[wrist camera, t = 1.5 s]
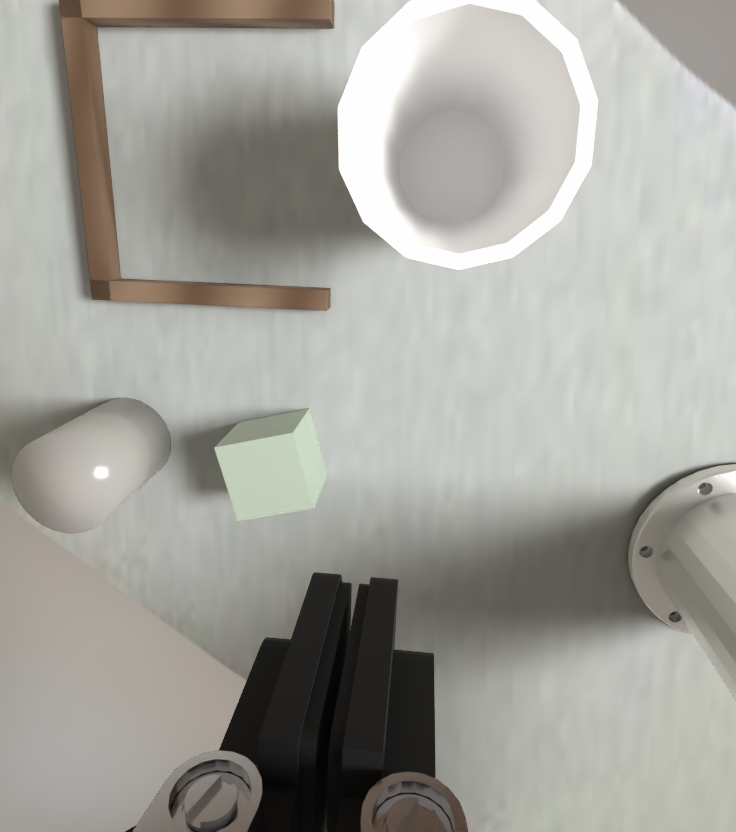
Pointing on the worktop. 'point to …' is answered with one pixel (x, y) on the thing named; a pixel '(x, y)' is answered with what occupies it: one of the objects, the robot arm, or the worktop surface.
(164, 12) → the dark wooden bay
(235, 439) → the sage painted block
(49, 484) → the grey ceramic jar
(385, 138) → the foam cup
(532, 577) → the worktop surface
